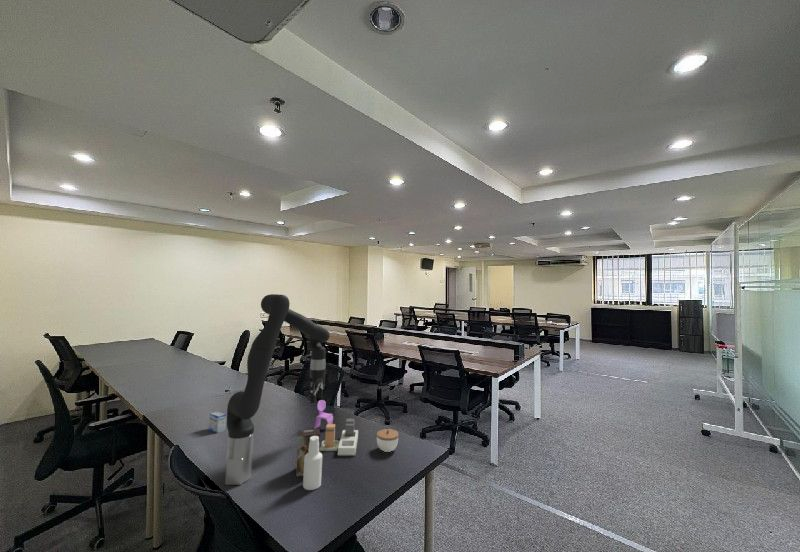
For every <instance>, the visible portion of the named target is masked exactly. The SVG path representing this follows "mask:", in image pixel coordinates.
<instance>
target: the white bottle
mask: <svg viewBox="0 0 800 552" xmlns="http://www.w3.org/2000/svg"><path fill="white" fill-rule="evenodd" d="M322 469H323V453H322V452H321V451H320V452H319V437H318V436H312V437H310V443H309V450H308V453H307V454H306V455H305V457H304V476H302V477H303V479H302V487H303V489H304V490H306V491H315V490H317V489H319V488H320V487H321V486H322V472H323V471H322Z"/></svg>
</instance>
